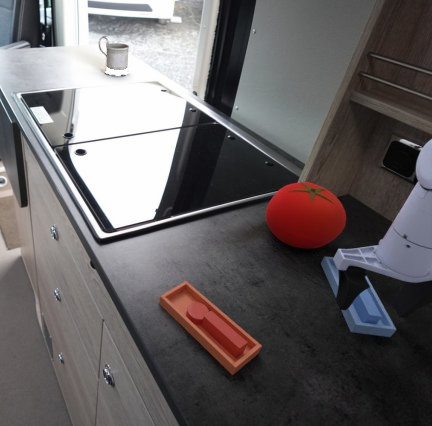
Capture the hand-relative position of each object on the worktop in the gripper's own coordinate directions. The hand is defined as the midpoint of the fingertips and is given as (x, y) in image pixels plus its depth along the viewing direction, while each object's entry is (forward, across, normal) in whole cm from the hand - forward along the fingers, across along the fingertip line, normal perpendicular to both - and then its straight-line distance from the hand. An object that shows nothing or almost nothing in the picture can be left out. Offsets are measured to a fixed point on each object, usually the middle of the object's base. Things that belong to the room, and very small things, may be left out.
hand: (369, 308), depth 52 cm
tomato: (+2, +5, -17) cm, 18 cm away
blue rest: (+2, 0, -4) cm, 5 cm away
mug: (+2, +51, -110) cm, 121 cm away
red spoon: (+2, +22, +6) cm, 23 cm away
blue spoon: (+2, 0, -3) cm, 4 cm away
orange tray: (+2, +22, +5) cm, 23 cm away
